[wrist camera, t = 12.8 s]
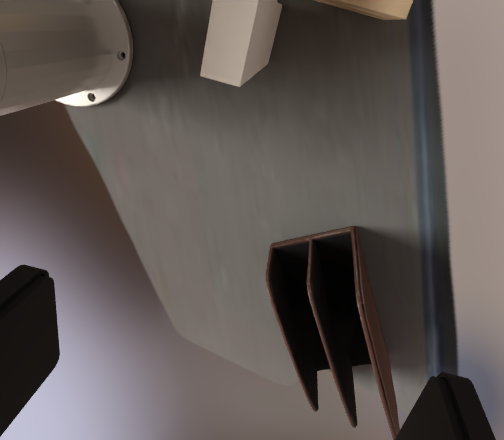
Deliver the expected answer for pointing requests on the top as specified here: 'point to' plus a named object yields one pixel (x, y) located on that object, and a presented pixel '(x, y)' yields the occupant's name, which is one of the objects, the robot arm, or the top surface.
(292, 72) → the top surface
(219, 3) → the cream angled block
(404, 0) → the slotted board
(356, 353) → the letter holder
